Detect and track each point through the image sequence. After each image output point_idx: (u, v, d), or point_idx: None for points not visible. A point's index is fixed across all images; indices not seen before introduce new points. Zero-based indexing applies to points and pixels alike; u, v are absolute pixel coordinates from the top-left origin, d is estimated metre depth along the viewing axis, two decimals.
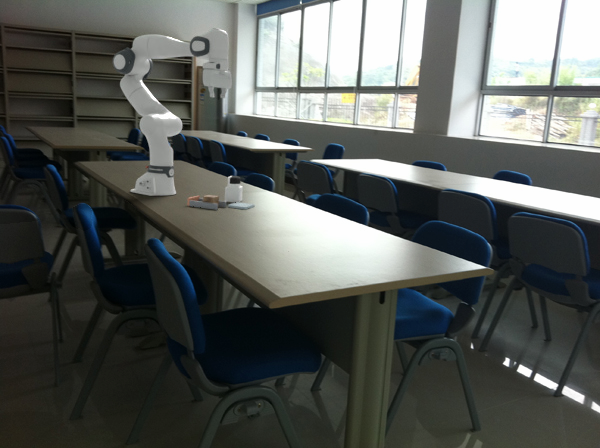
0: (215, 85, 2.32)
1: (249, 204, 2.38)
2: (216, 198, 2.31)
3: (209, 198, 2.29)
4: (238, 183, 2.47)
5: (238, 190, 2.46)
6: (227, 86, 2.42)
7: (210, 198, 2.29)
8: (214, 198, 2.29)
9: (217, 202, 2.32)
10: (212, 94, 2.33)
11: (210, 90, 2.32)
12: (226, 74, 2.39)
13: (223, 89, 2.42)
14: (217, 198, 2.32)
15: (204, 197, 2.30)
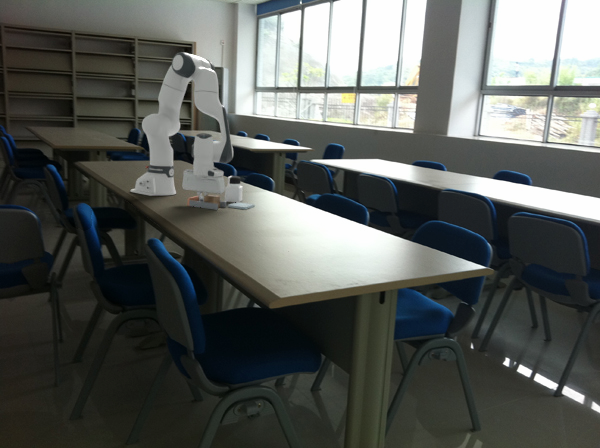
0: None
1: (249, 204, 2.38)
2: (217, 198, 2.31)
3: (210, 198, 2.29)
4: (238, 183, 2.47)
5: (238, 190, 2.46)
6: None
7: (211, 198, 2.29)
8: (215, 198, 2.29)
9: (218, 202, 2.32)
10: None
11: (206, 195, 2.32)
12: None
13: (201, 192, 2.33)
14: (218, 198, 2.32)
15: (205, 197, 2.30)
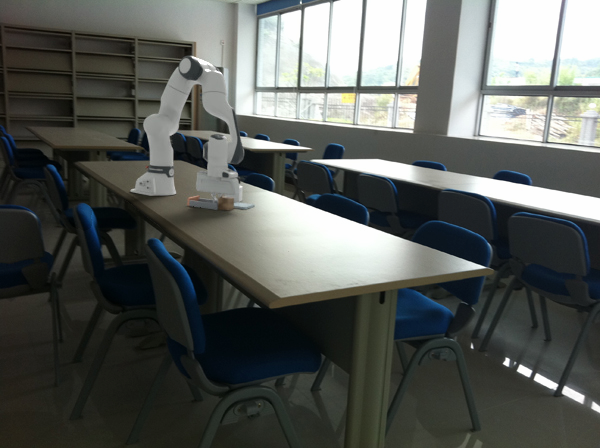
0: None
1: (249, 204, 2.38)
2: (231, 200, 2.28)
3: (224, 200, 2.26)
4: None
5: None
6: None
7: (225, 200, 2.26)
8: (229, 200, 2.27)
9: (232, 204, 2.30)
10: None
11: None
12: None
13: (214, 193, 2.30)
14: (232, 200, 2.29)
15: (219, 199, 2.27)
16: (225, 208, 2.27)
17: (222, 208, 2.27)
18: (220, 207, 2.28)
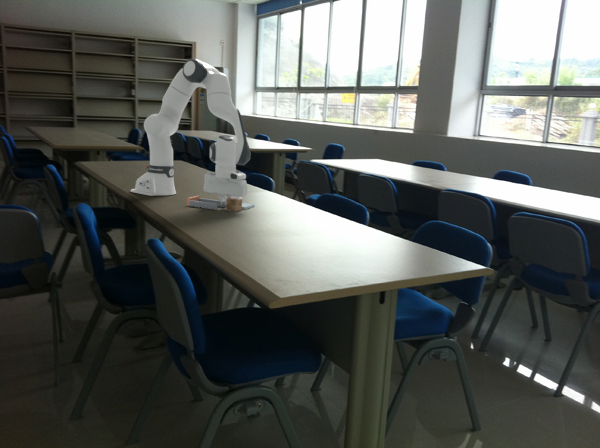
0: None
1: (249, 204, 2.38)
2: (239, 201, 2.27)
3: (232, 201, 2.25)
4: None
5: None
6: None
7: (233, 201, 2.25)
8: (237, 201, 2.25)
9: (240, 205, 2.28)
10: None
11: (228, 198, 2.28)
12: None
13: (222, 194, 2.29)
14: (240, 201, 2.28)
15: (227, 200, 2.26)
16: (233, 209, 2.26)
17: (230, 209, 2.26)
18: (228, 208, 2.26)
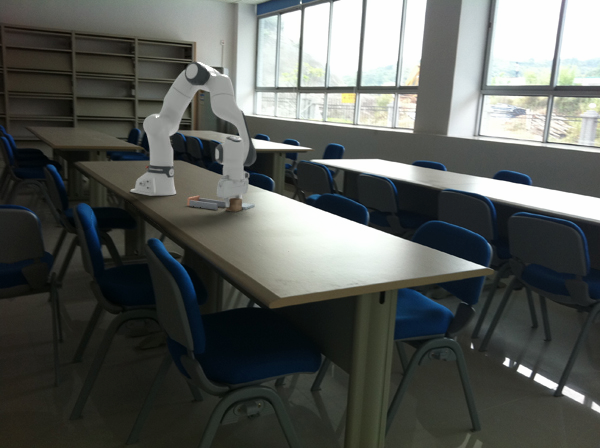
0: None
1: (249, 204, 2.38)
2: (239, 201, 2.27)
3: (232, 201, 2.25)
4: None
5: None
6: None
7: (233, 201, 2.25)
8: (237, 201, 2.25)
9: (240, 205, 2.28)
10: None
11: None
12: None
13: None
14: (240, 201, 2.28)
15: None
16: (233, 209, 2.25)
17: (230, 209, 2.26)
18: (228, 208, 2.26)
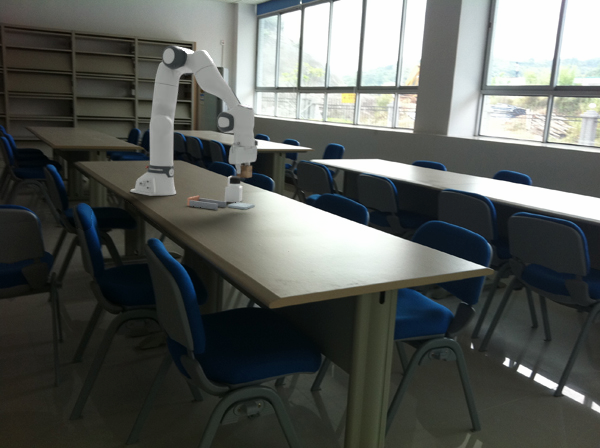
0: None
1: (249, 204, 2.38)
2: (250, 168, 2.33)
3: (243, 167, 2.30)
4: (238, 183, 2.47)
5: (238, 190, 2.46)
6: None
7: (244, 167, 2.30)
8: (248, 167, 2.31)
9: (250, 172, 2.34)
10: None
11: None
12: None
13: None
14: (251, 168, 2.33)
15: None
16: (244, 176, 2.31)
17: (241, 176, 2.31)
18: (239, 175, 2.32)
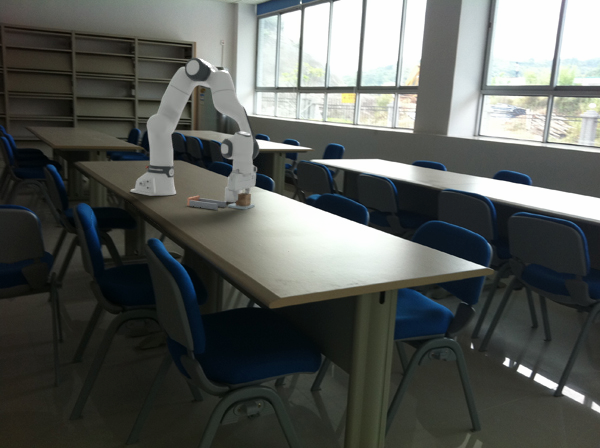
0: None
1: None
2: (248, 196, 2.35)
3: (242, 196, 2.33)
4: None
5: None
6: None
7: (243, 196, 2.33)
8: (247, 196, 2.34)
9: (249, 200, 2.37)
10: None
11: None
12: None
13: None
14: (249, 196, 2.36)
15: None
16: (243, 204, 2.34)
17: (240, 204, 2.34)
18: (238, 203, 2.34)
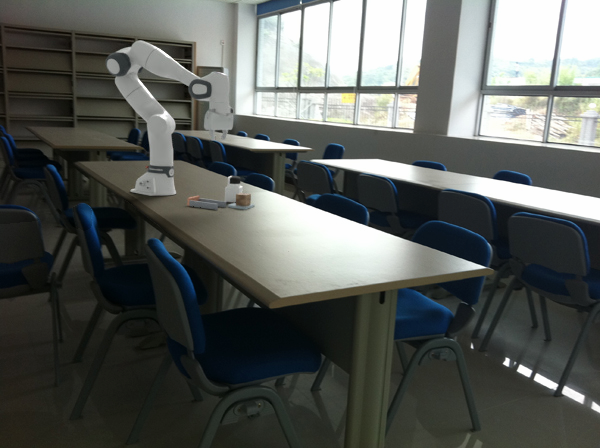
0: None
1: None
2: (248, 196, 2.35)
3: (242, 196, 2.33)
4: (238, 183, 2.47)
5: (238, 190, 2.46)
6: None
7: (243, 196, 2.33)
8: (247, 196, 2.34)
9: (249, 200, 2.37)
10: None
11: None
12: None
13: None
14: (249, 196, 2.36)
15: (237, 195, 2.34)
16: (243, 204, 2.34)
17: (240, 204, 2.34)
18: (238, 203, 2.34)
